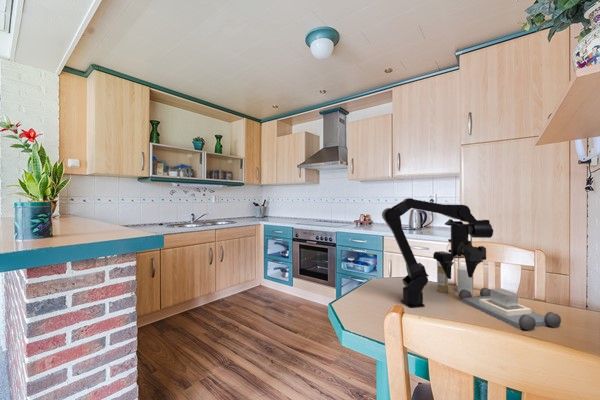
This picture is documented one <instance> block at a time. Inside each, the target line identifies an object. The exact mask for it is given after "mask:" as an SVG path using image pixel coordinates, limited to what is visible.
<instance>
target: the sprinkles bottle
mask: <svg viewBox="0 0 600 400" xmlns="http://www.w3.org/2000/svg"><path fill="white" fill-rule="evenodd" d="M436 266H437V267H436V277H437V278H436V281H437V282H436V283H437V289H436V290H437V292H439V293H443V294H447V293H449V279H448V278H447V276H446V274H445V272H444V270H443V268H442V266H441V264H440V263H439V261H436Z"/></svg>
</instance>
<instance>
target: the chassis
mask: <svg viewBox="0 0 600 400" xmlns="http://www.w3.org/2000/svg"><path fill="white" fill-rule="evenodd" d="M458 296H459V299H460V300H461V301H462V303H464V304H466V305H469V306H471V307H472V308H474V309H477V310H479V311H480V312H483V313H485V314H487V315H489V316H491V317H493V318H496V319H497V320H499V321H502V322H504V323H506V324H508V325H510V326H512V327H514V328H517V329H518V330H521V329H522V330H523V329H524V330H525V331H528V332H531V331H533V330H535V328H539V327H551V328H554V329H557V328H558V327H560V325H561V323H562V318H561V316H560V315H559V313H555V312H553V311H548V312H546V314H544V315H543V314H540V313H537V312H536V311H535V312H534V311H532V308H529V307H526V306H525V305H521V304H519V303H518V309H513V310H506V309H503V308H501V307H499V306H496V305H494V304H492V303H491V297H490V288H488V287H483V288H481V289H480V291H479V296H475V297H474V296H473V295H471V292H470V291H468V290H465V289H463V290H461V291H460V293H458ZM472 296H473V297H472Z"/></svg>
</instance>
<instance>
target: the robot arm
mask: <svg viewBox="0 0 600 400" xmlns="http://www.w3.org/2000/svg"><path fill="white" fill-rule="evenodd" d="M411 209H413V210H418V211H424V212H429V213H436V214H439V215H442V216H445V217H448V218H449V219H448V220H447V221H446V222H445V223H444V225H445V226H450V238H449V239H448V243H450V249H448V251H442V250H441V251H440V250H439V251H434V252H433V254H432V255H433V259H434V260H436V262H437V261H439V263H440V264H441V266H442V268H443V270H444V272H445V274H446V276H447V278H448V280H452V266H453V265H454V264H455V262H453V260H454V259H464V260H465V266H466V268H467V273H468V277H470V278H472V276H473V277H474V273H475V270H476V268H477V266H479V264H480V263H483V262H484V261H486V260H487V248H486V246H484V245H482V246H480V245H479V246H478V245H477V246H473V242H472V240H469V236H470V237H471V238H474V239H476V238H478V239H479V238H480V239H490V238H492V237H493V235H494V229H493V227H492V226H493V225H491V223H490V219H476V218H475V216H474V215H473V214H472V213H471V212H472V211H471V209H470V208H469V206H468V205H466V204H443V203H438V202H437V203H436V202H431V201H425V200H420V199H413V198H412V197H409V198H404V199H403V200H402V201H400V202H399V203H397V204H396V205H393V206H392V207H387V208H385V209H384V210H383V211H381V217H382V219H383V221H384V222H385V224H386V225H387V226H388V228H389V229H390V231H391V233H392V235H393V237H394V239H395V241H396V244H397V246H398V248H399V251H400V253H401V255H402V258H403V260H404V262H405V267H406V273H407V275H406V276H404V277H403V278H402V280H401V281H402V284H403V285H404V286H403V287H402V299H401V300H400V302H401V303H403V304H404V305H406V306H407V307H408V308H419V307H420V308H421V307H422V308H423V307H425V306H426V305H425V304H424V293H423V290H424V288H425V287H426V285H427V284H428V282H429V279H428V277H429V276H430V275H429V274H428V273H427V271H426V267H425V265H423V264H422V263H421V262H418V261H417V260H416V257H415V255H414V252H413V250H412V248H411V246H410V244H409V241H408V239H407V237H406V235H405V232H404V230H403V226H402V225H403V224H402V219H401V217H402V216H403V215H404V214H405V213H407V212H408V211H409V210H411Z"/></svg>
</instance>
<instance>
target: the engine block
mask: <svg viewBox="0 0 600 400" xmlns="http://www.w3.org/2000/svg"><path fill="white" fill-rule="evenodd" d="M489 289H490V288H489ZM490 297H491V303H492V304H494V305H496V306H499V307H501V308H503V309H506V310H513V309H518V304H519V294H518V293H516V292H513V291H510V290H508V289H504V288H491V289H490Z"/></svg>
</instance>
